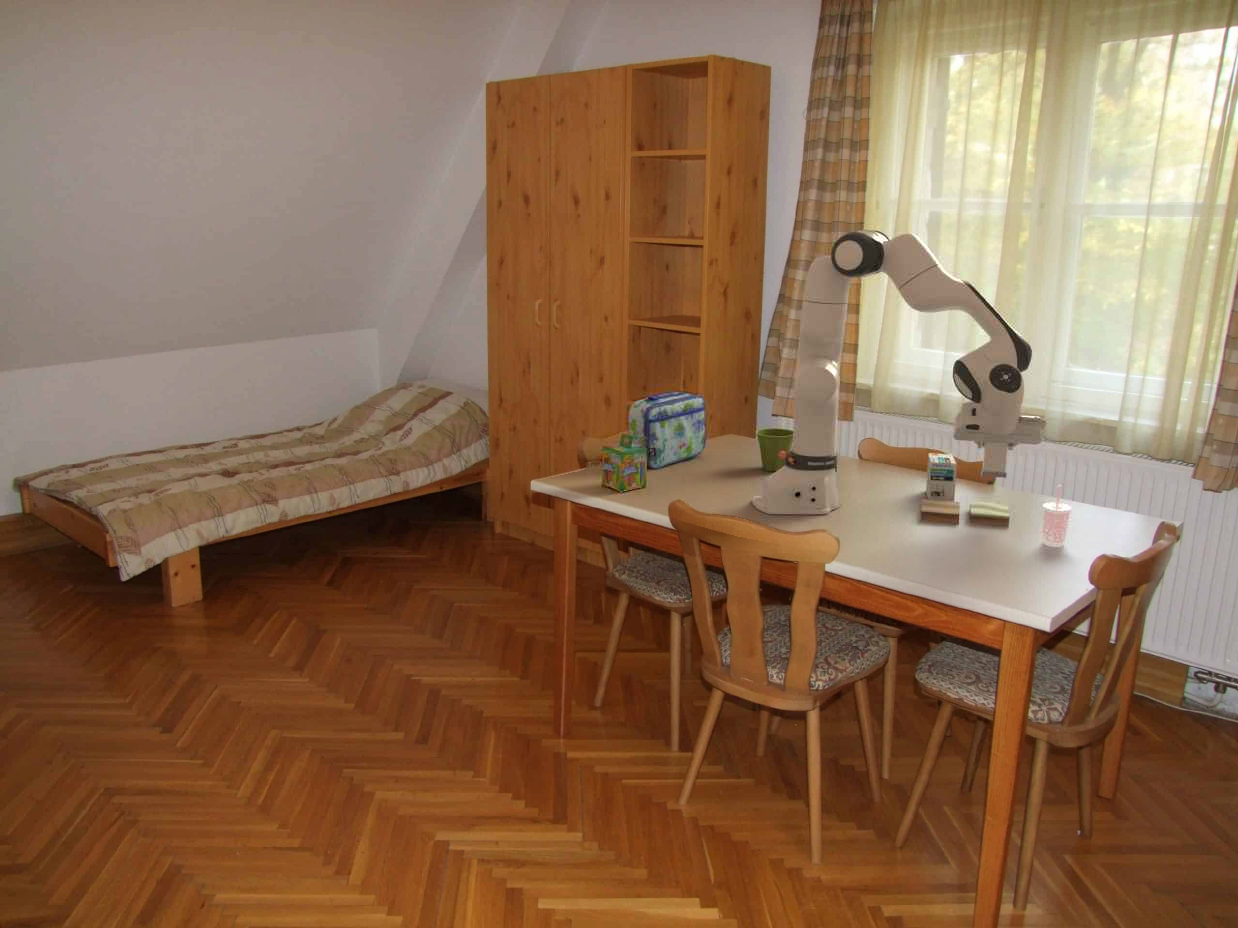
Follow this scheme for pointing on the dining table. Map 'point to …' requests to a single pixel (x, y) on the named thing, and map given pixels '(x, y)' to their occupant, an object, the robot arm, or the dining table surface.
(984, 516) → the stand
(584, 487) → the dining table surface
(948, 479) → the light bulb box
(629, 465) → the chalk box
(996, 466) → the housing
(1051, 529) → the beverage cup
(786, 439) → the plant pot
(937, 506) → the stand
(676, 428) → the lunch box
